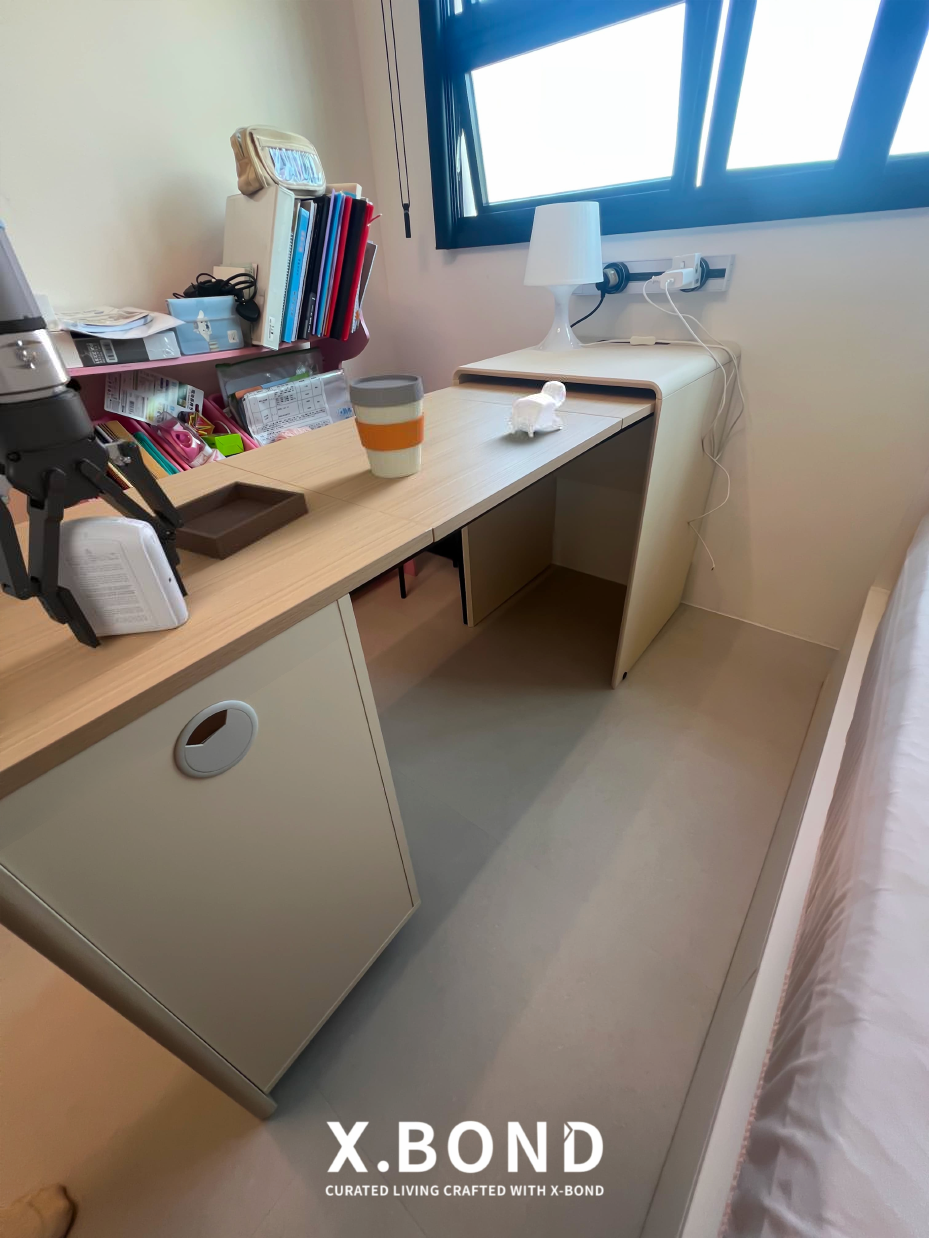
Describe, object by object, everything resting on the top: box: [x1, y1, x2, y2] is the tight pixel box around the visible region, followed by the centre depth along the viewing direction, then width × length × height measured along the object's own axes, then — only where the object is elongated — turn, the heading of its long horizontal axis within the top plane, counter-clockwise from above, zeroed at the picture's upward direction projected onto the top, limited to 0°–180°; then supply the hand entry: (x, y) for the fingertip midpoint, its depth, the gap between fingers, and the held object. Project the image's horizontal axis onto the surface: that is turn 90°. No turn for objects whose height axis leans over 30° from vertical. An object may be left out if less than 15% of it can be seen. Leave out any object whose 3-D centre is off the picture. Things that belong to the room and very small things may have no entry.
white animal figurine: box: [507, 380, 567, 438], centre depth 109 cm, size 9×8×15 cm
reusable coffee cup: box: [348, 373, 425, 479], centre depth 89 cm, size 12×13×15 cm
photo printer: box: [58, 515, 189, 637], centre depth 51 cm, size 10×4×12 cm, turn 98°
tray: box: [152, 480, 309, 561], centre depth 74 cm, size 17×15×3 cm
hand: (136, 616), depth 54 cm, fingers open, 9 cm apart
